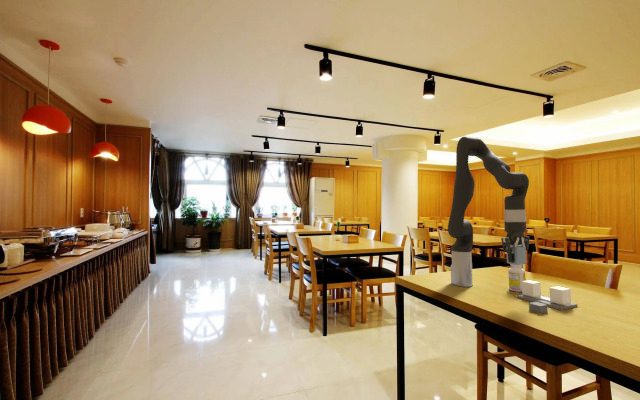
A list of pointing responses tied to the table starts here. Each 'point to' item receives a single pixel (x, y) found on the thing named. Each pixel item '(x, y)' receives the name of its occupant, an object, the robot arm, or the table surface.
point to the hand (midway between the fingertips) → (516, 261)
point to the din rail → (557, 299)
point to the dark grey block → (538, 307)
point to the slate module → (519, 256)
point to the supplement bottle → (516, 277)
